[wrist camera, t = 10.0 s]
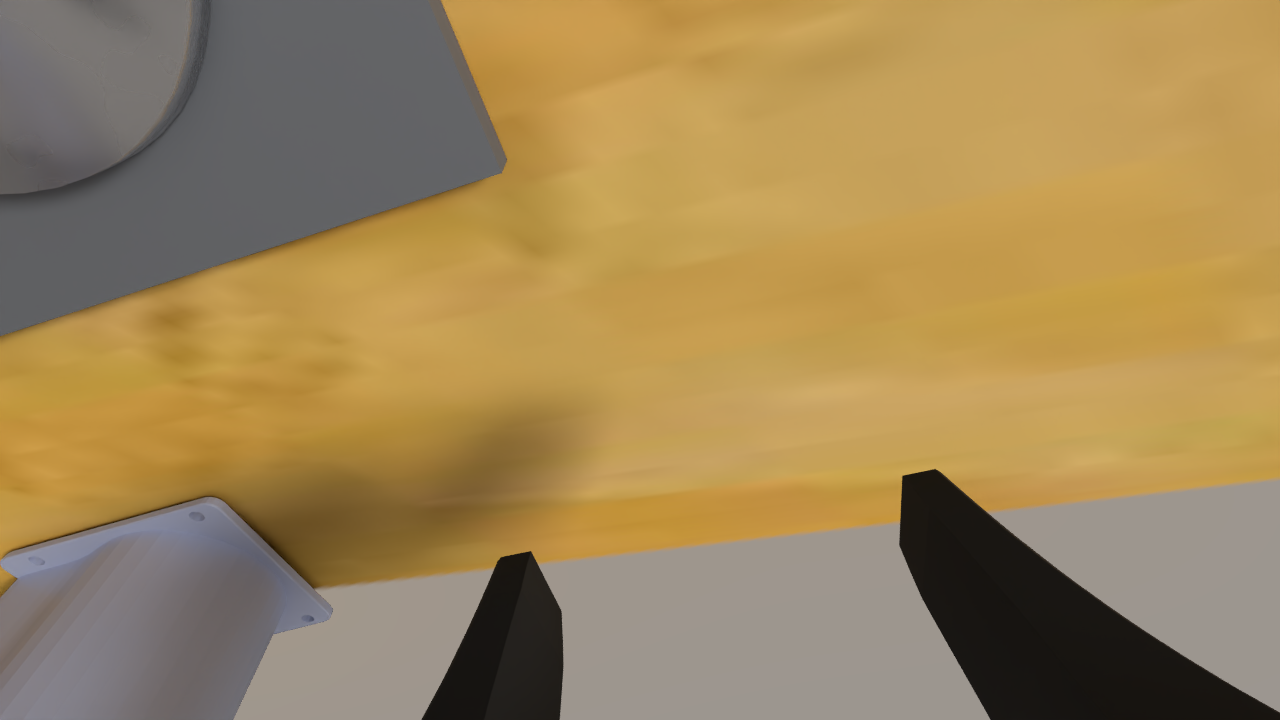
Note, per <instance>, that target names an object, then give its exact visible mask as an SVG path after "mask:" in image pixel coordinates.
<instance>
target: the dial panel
mask: <svg viewBox="0 0 1280 720" xmlns="http://www.w3.org/2000/svg"><path fill="white" fill-rule="evenodd" d="M506 161H507V158H506V156H505V154H504V151H503V149H502V146H501V144H500V142H499V139H498V137H497V134H496V132H495V130H494V127H493V125H492V122H491V120H490V118H489V115H488V113H487V110H486V108H485V106H484V103H483V101H482V98H481V96H480V94H479V91H478V89H477V87H476V84H475V82H474V79H473V77H472V75H471V72H470V70H469V67H468V65H467V63H466V60H465V58H464V55H463V53H462V51H461V48H460V46H459V43H458V41H457V39H456V36H455V34H454V31H453V29H452V27H451V24H450V22H449V19H448V17H447V15H446V12H445V10H444V8H443V5H442V3H441V0H211V20H210V26H209V33H208V40H207V46H206V53H205V56H204V59H203V62H202V65H201V68H200V72H199V75H198V78H197V81H196V84H195V86H194V88H193V90H192V92H191V93H190V95H189V97H188V99H187V101H186V103H185V105H184V106H183V108H182V110H181V112H180V113H179V114H178V115H177V117H176V118H175V119H174V120H173V121H172V123H171V124H170V125H169V126H168V128H167V129H166V130H165V131H164V132H163V134H161V135H160V136H159V137H158V138H156V139H155V140H154V141H153V142H152V143H150V144H149V145H148V146H147V147H146V148H144V149H143V150H142V151H141V152H139V153H137V154H135V155H133V156H131V157H130V158H128V159H126V160H124V161H122V162H120V163H119V164H117V165H115V166H112V167H110V168H108V169H106V170H103V171H101V172H99V173H97V174H94V175H92V176H90V177H87V178H84V179H82V180H79V181H76V182H73V183H70V184H67V185H64V186H61V187H58V188H52V189H47V190H41V191H35V192H29V193H19V194H0V336H2V335H5V334H8V333H11V332H14V331H17V330H20V329H23V328H26V327H29V326H33V325H36V324H39V323H42V322H45V321H48V320H51V319H54V318H57V317H60V316H63V315H66V314H69V313H73V312H76V311H79V310H82V309H85V308H88V307H91V306H94V305H97V304H100V303H103V302H106V301H109V300H112V299H116V298H119V297H122V296H125V295H128V294H131V293H134V292H137V291H140V290H143V289H146V288H149V287H152V286H156V285H159V284H162V283H165V282H168V281H171V280H174V279H177V278H180V277H183V276H186V275H189V274H192V273H196V272H199V271H202V270H205V269H208V268H211V267H214V266H217V265H220V264H223V263H226V262H229V261H232V260H235V259H239V258H242V257H245V256H248V255H251V254H254V253H257V252H260V251H263V250H266V249H269V248H272V247H275V246H279V245H282V244H285V243H288V242H291V241H294V240H297V239H300V238H303V237H306V236H309V235H312V234H315V233H318V232H322V231H325V230H328V229H331V228H334V227H337V226H340V225H343V224H346V223H349V222H352V221H355V220H358V219H362V218H365V217H368V216H371V215H374V214H377V213H380V212H383V211H386V210H389V209H392V208H395V207H398V206H401V205H405V204H408V203H411V202H414V201H417V200H420V199H423V198H426V197H429V196H432V195H435V194H438V193H441V192H445V191H448V190H451V189H454V188H457V187H460V186H463V185H466V184H469V183H472V182H475V181H478V180H481V179H485V178H488V177H491V176H494V175H497V174H500V173H502V171H503V169H504V166H505V164H506Z"/></svg>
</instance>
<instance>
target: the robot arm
mask: <svg viewBox="0 0 1280 720" xmlns="http://www.w3.org/2000/svg"><path fill="white" fill-rule="evenodd" d="M899 545H900V548H901V550H902V553H903V555H904V557H905V560H906V562H907V565H908V567H909V569H910V572H911V574H912V576H913V579H914V581H915V583H916V585H917V588H918V590H919V592H920V594H921V597H922V599H923V601H924V602H925V604H926V606H927V608H928V610H929V611H930V613H931V615H932V617H933V619H934V620H935V622H936V624H937V626H938V628H939V629H940V631H941V633H942V635H943V636H944V638H945V640H946V642H947V643H948V645H949V647H950V649H951V651H952V652H953V654H954V656H955V657H956V659H957V661H958V663H959V665H960V666H961V668H962V670H963V672H964V673H965V675H966V677H967V679H968V681H969V682H970V684H971V685H972V687H973V689H974V691H975V692H976V694H977V696H978V698H979V700H980V702H981V703H982V705H983V707H984V709H985V710H986V712H987V714H988V716H989V718H990V719H991V720H1280V712H1278V711H1276V710H1274V709H1273V708H1271V707H1269V706H1267V705H1265V704H1263V703H1262V702H1260V701H1258V700H1257V699H1255V698H1253V697H1251V696H1249V695H1248V694H1246V693H1244V692H1242V691H1241V690H1239V689H1237V688H1235V687H1233V686H1232V685H1230V684H1229V683H1227V682H1225V681H1223V680H1222V679H1220V678H1219V677H1217V676H1215V675H1214V674H1212V673H1210V672H1209V671H1207V670H1205V669H1204V668H1202V667H1201V666H1199V665H1197V664H1195V663H1194V662H1193V661H1191V660H1189V659H1188V658H1186V657H1184V656H1183V655H1181V654H1180V653H1178V652H1177V651H1175V650H1173V649H1172V648H1170V647H1169V646H1167V645H1166V644H1164V643H1163V642H1161V641H1159V640H1158V639H1156V638H1155V637H1153V636H1152V635H1150V634H1149V633H1147V632H1145V631H1144V630H1142V629H1141V628H1140V627H1138V626H1137V625H1135V624H1134V623H1132V622H1131V621H1129V620H1128V619H1126V618H1125V617H1123V616H1122V615H1120V614H1119V613H1118V612H1116V611H1115V610H1113V609H1112V608H1110V607H1109V606H1107V605H1106V604H1104V603H1103V602H1102V601H1101V600H1099V599H1098V598H1096V597H1095V596H1094V595H1092V594H1091V593H1089V592H1088V591H1087V590H1085V589H1084V588H1082V587H1081V586H1080V585H1078V584H1077V583H1075V582H1074V581H1073V580H1072V579H1070V578H1069V577H1067V576H1066V575H1065V574H1064V573H1062V572H1061V571H1059V570H1058V569H1057V568H1056V567H1054V566H1053V565H1052V564H1050V563H1049V562H1048V561H1047V560H1045V559H1044V558H1043V557H1041V556H1040V555H1039V554H1038V553H1036V552H1035V551H1034V550H1033V549H1031V548H1030V547H1029V546H1027V545H1026V544H1025V543H1024V542H1022V541H1021V540H1020V539H1019V538H1017V537H1016V536H1014V534H1012V533H1011V532H1010V531H1009V530H1007V529H1006V528H1005V527H1004V526H1003V525H1001V524H1000V523H999V522H998V521H997V520H995V519H994V518H993V517H992V516H991V515H989V514H988V513H987V512H986V511H985V510H983V509H982V508H981V507H980V506H979V505H978V504H976V503H975V502H974V501H973V500H972V499H971V498H969V497H968V496H967V495H966V494H965V493H964V492H963V491H961V490H960V489H959V488H958V487H957V486H956V485H955V484H953V483H952V482H951V481H950V480H949V479H948V478H947V477H945V476H944V475H943V474H942V473H941V472H939V471H938V470H936V469H934V470H929V471H924V472H919V473H914V474H909V475H904V476H903V477H902V499H901V520H900V543H899ZM0 564H1V567H2V568H3V569H4V570H6V571H7V572H9V573H10V574H12V575H13V576H15V577H16V578H18V579H17V580H16V581H15V582H14V583H13V584H12V585H11V586H10V588H9V589H8V590H7V591H6V592H5V593H4V594H3V595H2V596H1V597H0V720H233V719H234V716H235V715H236V713H237V710H238V708H239V706H240V704H241V702H242V700H243V698H244V695H245V693H246V691H247V689H248V687H249V685H250V682H251V680H252V678H253V676H254V674H255V672H256V670H257V667H258V665H259V663H260V661H261V659H262V657H263V655H264V653H265V650H266V648H267V646H268V644H269V642H270V640H271V638H272V636H273V634H277V633H280V632H284V631H288V630H292V629H296V628H300V627H304V626H308V625H312V624H316V623H320V622H324V621H327V620H328V619H329V618H330V617H331V614H332V612H333V608H332V607H331V606H330V605H329V604H328V603H327V602H326V601H325V600H324V599H323V598H322V597H321V596H320V595H319V594H318V593H317V592H316V591H315V590H314V589H313V588H312V587H311V586H310V585H309V584H308V583H307V582H306V581H305V580H304V579H303V578H302V577H301V576H300V575H299V574H298V573H297V572H296V571H295V570H294V569H293V568H292V567H291V566H290V565H289V564H287V563H286V562H285V561H284V560H283V559H282V558H281V557H280V556H279V555H278V554H277V553H276V552H275V551H274V550H273V549H272V548H271V547H270V546H269V545H268V544H267V543H266V542H265V541H264V540H263V539H262V538H261V537H260V536H259V535H258V534H257V533H256V532H255V531H254V530H253V529H252V528H251V527H250V526H249V525H248V524H247V523H245V522H244V521H243V520H242V519H241V518H240V517H239V516H238V515H237V514H236V513H235V512H234V511H233V510H232V509H231V508H230V507H229V506H228V505H227V504H226V503H225V502H224V501H222V500H221V499H218V498H216V497H204V498H201V499H197V500H194V501H190V502H186V503H183V504H179V505H176V506H172V507H169V508H165V509H162V510H158V511H154V512H151V513H147V514H144V515H140V516H137V517H133V518H129V519H126V520H122V521H119V522H115V523H112V524H108V525H104V526H101V527H97V528H94V529H90V530H87V531H83V532H80V533H76V534H72V535H69V536H65V537H62V538H58V539H55V540H51V541H47V542H44V543H40V544H37V545H33V546H30V547H26V548H23V549H19V550H15V551H12V552H9V553H7V554H6V555H5V556H4V558H3V559H2V560H1V561H0ZM562 679H563V636H562V613H561V609H560V608H559V605H558V603H557V601H556V599H555V598H554V596H553V594H552V592H551V590H550V588H549V586H548V584H547V582H546V580H545V578H544V576H543V574H542V572H541V570H540V568H539V566H538V564H537V562H536V560H535V558H534V556H533V554H532V552H531V551H529V552H524V553H520V554H515V555H510V556H505V557H501V558H500V559H499V561H498V562H497V564H496V567H495V569H494V571H493V574H492V576H491V578H490V581H489V583H488V585H487V588H486V590H485V592H484V594H483V597H482V599H481V601H480V603H479V606H478V608H477V610H476V612H475V614H474V617H473V619H472V621H471V623H470V626H469V628H468V630H467V632H466V634H465V636H464V638H463V640H462V642H461V644H460V647H459V648H458V650H457V652H456V655H455V657H454V659H453V661H452V663H451V665H450V667H449V669H448V671H447V673H446V675H445V677H444V679H443V681H442V683H441V685H440V686H439V688H438V690H437V692H436V694H435V696H434V698H433V699H432V701H431V703H430V705H429V707H428V709H427V711H426V713H425V714H424V716H423V718H422V720H559V719H560V707H561V693H562Z"/></svg>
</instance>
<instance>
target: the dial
mask: <svg viewBox="0 0 1280 720" xmlns="http://www.w3.org/2000/svg"><path fill="white" fill-rule="evenodd" d="M210 20H211V0H0V194H19V193H29V192H35V191H41V190H47V189H52V188H58V187H61V186H64V185H67V184H70V183H73V182H76V181H79V180H82V179H84V178H87V177H90V176H92V175H94V174H97V173H99V172H101V171H103V170H106V169H108V168H110V167H112V166H115V165H117V164H119V163H120V162H122V161H124V160H126V159H128V158H130V157H131V156H133V155H135V154H137V153H139V152H141V151H142V150H143V149H144V148H146V147H147V146H148V145H149V144H150V143H152V142H153V141H154V140H155V139H156V138H158V137H159V136H160V135H161V134H163V132H164V131H165V130H166V129H167V128H168V126H169V125H170V124H171V123H172V121H173V120H174V119H175V118H176V117H177V115H178V114H179V113H180V112H181V110H182V108H183V106H184V105H185V103H186V101H187V99H188V97H189V95H190V93H191V92H192V90H193V88H194V86H195V84H196V81H197V78H198V75H199V72H200V68H201V65H202V62H203V59H204V56H205V53H206V46H207V40H208V33H209V26H210Z"/></svg>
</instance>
